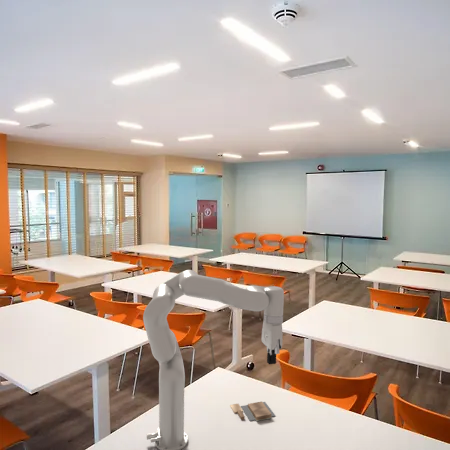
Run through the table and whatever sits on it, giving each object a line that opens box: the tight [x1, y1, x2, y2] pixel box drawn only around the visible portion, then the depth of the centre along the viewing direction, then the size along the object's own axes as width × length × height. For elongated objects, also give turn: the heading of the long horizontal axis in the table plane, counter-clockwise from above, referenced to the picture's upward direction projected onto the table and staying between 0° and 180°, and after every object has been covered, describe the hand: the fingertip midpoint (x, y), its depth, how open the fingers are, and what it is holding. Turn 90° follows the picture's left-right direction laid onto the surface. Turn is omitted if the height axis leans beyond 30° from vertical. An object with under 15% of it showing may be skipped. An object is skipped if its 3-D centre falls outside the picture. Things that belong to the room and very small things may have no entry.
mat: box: [240, 401, 276, 422], centre depth 160 cm, size 12×11×1 cm
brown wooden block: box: [247, 401, 272, 422], centre depth 158 cm, size 7×2×10 cm
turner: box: [229, 403, 246, 421], centre depth 159 cm, size 4×11×1 cm, turn 18°
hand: (271, 363), depth 144 cm, fingers closed
